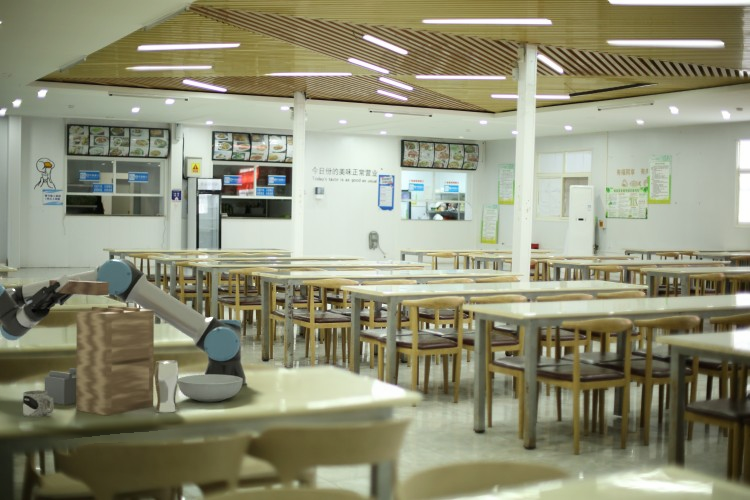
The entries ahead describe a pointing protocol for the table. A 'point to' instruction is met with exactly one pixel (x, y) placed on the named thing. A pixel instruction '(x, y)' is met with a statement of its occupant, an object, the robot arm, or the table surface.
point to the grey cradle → (61, 386)
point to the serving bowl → (210, 387)
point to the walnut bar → (84, 287)
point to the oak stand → (114, 359)
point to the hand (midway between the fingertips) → (72, 278)
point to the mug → (36, 403)
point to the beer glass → (166, 385)
